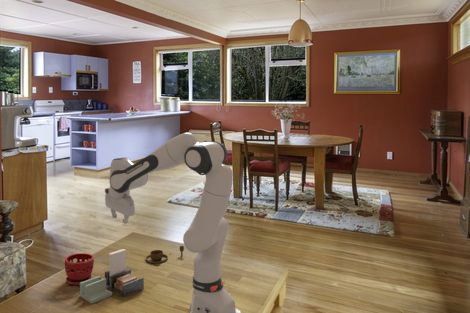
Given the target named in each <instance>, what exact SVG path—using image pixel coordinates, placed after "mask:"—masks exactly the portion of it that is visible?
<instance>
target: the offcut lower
mask: <svg viewBox="0 0 470 313" xmlns="http://www.w3.org/2000/svg"><path fill="white" fill-rule="evenodd" d="M114 287H115V288H117V289H119V290H121V291H122V285H120V284H118V283H117V282H116V283H114Z"/></svg>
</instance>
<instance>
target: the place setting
mask: <svg viewBox="0 0 470 313" xmlns="http://www.w3.org/2000/svg"><path fill="white" fill-rule="evenodd" d="M184 250H185V245H180V246H179V251H180V257H183V256H184V255H183V254H184V253H183V252H184ZM170 255H171V253H169V256H170ZM149 258H150V259H152V260H153V261H152V260H149ZM162 258H165V259H163V260H162ZM167 260H168V255H167V254H164V251H163V250H161V249H154V250H151V251H150V253H149V255H147V256H146V257H145V261H146V262H147V263H148V264H152V265H153V266H154V267H158V266H160V265H161V264H162V263H165V262H166V261H167Z"/></svg>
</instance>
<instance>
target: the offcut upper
mask: <svg viewBox="0 0 470 313" xmlns="http://www.w3.org/2000/svg"><path fill="white" fill-rule="evenodd" d="M136 279H138V277H137V276H135V275H134V274H133V275H132V273H131V274H127V275H125V276H122V277H119V278H117V283H118V284H120V285H124V284H126V283H129V282H131V281H134V280H136Z"/></svg>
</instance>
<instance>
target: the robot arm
mask: <svg viewBox="0 0 470 313" xmlns="http://www.w3.org/2000/svg"><path fill="white" fill-rule="evenodd" d="M227 158H228V151H227V147H226V146H225V145H224V144H223V143H221V142H218V141H213V140H204V141H202V142H200V141H199V140H198V138H197V136H196V135H194V133H191V132H184V133H183V132H182V133H181V134H178V135H176V136H174V137H172V138H171V139H169V140H167V141H166V142H164V143H163V144H162V145H160V146H159V147H158V148H156V149H155V150H153V151H152V152H150V153H149V154H147V156H145V157H143V158H142V159H140V160H138V161H137V162H135V163H134V162H132V161H131V160H130V159H129V157H117V158H114V159H112V160H111V163H110V166H109V167H110V169H109V171H110V172H109V187H106V188H104V193H105V195H104V196H105V198H104V200H105V202H104V203H105V206H106V208H109V209H110V212H111V218H112V219H117V218H118V214H117V213H120V214H121V215H123V219H122V223H123V224H124V225H125V224H128V223H129V218H130V217H131V216H134V215H135V214H136V211H135V208H136V207H135V200H134V199H133V198H132V195H131V190H135V189H137V188H141V187H143V186H145V185H146V184H147V182H148V180H149V176H148V175H149V174H151V173H154V172H159V171H163V170H168V169H173V168H176V167H177V166H179V165H182V164H184V163H185V165H186V166H187V168H189V169H190V170H191V171H193V172H195V173H197V174H198V175H200V176H205V183H204V186H203V191H202V195H201V200H200V203H199V207H198V208H197V211H196V214H195V215H194V218H193V219H192V222H191V223H190V225H189V227H188V228H187V230H186V231H185V232H184V234H183V237H182V240H183V244H184V245H183V246H184V248H186V250H188V251H189V252H191V253H196V255H195V257H194V259H193V276H192V288H193V289H192V297H191V302H190V306H189V313H242V312H241V310H240V309H238V308H236V302H235V300H234V299H235V298H233V297H232V295H231V293H229V292H228V290H227V289H226V288H225V287H224V285H225V281H222V280H223V279H222V277H221V259H222V253H223V249H224V246H225V242H226V239H227V237H228V234H229V233H230V224H229V222H228V220H227V219H226V218H225V217H224V216H225V214H226V213H227V210H228V205H229V201H230V197H231V194H232V193H231V192H232V190H233V181H234V180H233V179H234V178H233V176H234V175H233V174H234V172H233V170H232V168H231V167H230V166H228V165H227V164H224V162H225V161H226V160H227Z"/></svg>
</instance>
